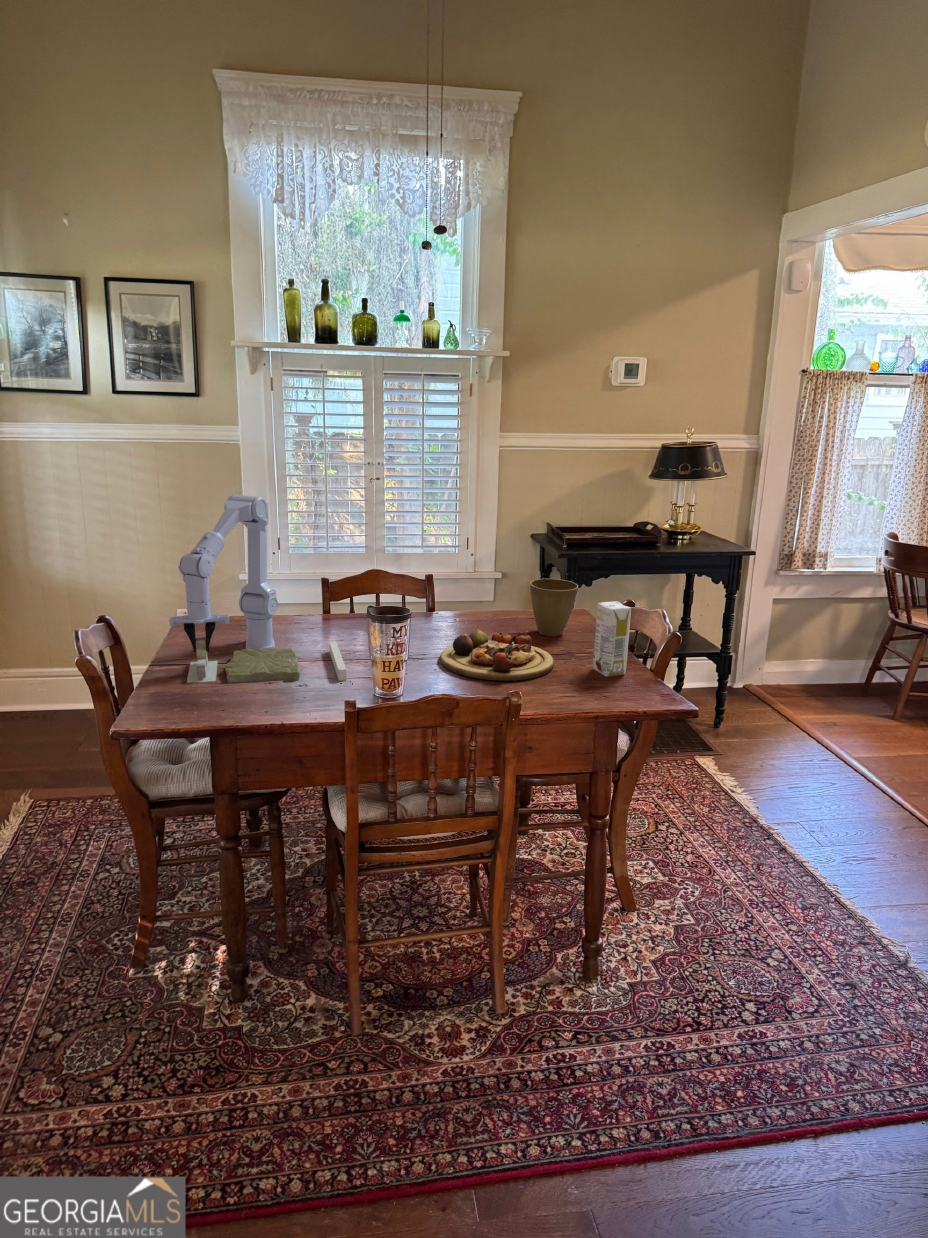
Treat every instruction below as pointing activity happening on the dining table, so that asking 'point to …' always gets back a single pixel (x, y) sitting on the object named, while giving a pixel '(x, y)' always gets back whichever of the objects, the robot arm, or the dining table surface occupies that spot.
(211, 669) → the mat
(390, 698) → the dining table surface
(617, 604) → the juice carton
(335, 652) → the rail
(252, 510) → the robot arm
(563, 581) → the plant pot
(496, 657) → the wooden plate with food
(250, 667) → the decorative tile
